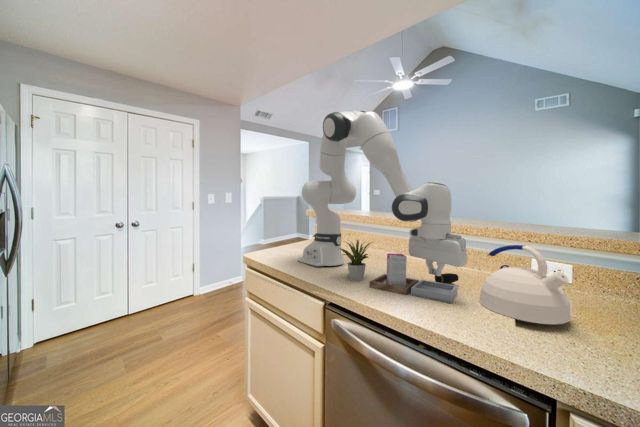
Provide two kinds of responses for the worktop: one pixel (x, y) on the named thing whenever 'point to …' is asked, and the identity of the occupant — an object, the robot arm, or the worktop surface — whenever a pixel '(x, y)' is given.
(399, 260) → the supplement box
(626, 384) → the worktop surface
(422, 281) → the grey tray
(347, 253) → the house plant
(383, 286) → the brown square frame
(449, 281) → the tape measure
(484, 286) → the kettle
